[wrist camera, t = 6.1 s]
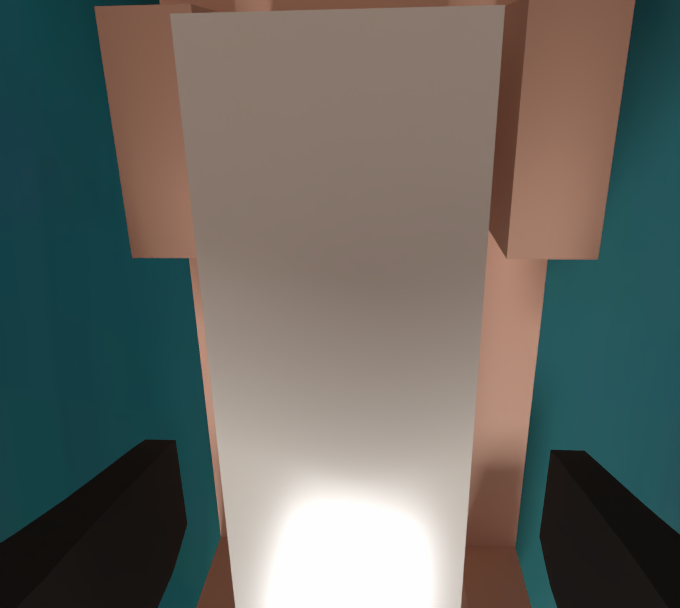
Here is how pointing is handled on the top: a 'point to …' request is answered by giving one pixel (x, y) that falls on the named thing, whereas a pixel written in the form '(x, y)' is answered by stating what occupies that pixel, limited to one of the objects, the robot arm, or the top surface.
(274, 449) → the strip
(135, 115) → the rack
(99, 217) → the top surface
